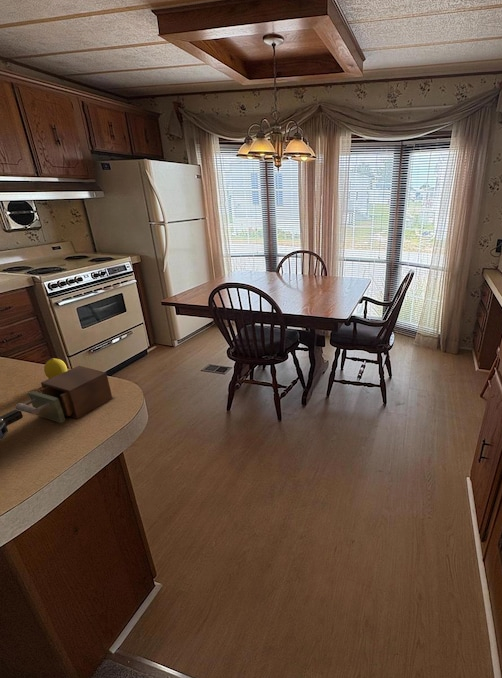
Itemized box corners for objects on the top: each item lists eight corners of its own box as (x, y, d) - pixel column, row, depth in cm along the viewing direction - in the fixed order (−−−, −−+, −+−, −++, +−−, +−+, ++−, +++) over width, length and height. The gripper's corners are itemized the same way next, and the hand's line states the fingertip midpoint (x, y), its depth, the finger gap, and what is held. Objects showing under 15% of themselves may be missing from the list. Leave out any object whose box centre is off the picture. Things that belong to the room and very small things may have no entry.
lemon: (68, 375, 111) (61, 352, 108) (71, 381, 107) (65, 358, 104) (46, 380, 107) (39, 357, 104) (49, 387, 104) (42, 364, 101)
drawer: (43, 433, 83) (35, 409, 81) (17, 424, 86) (9, 401, 83) (95, 403, 95) (89, 382, 93) (71, 396, 98) (65, 376, 95)
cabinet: (77, 418, 90) (69, 390, 87) (49, 409, 93) (40, 382, 90) (112, 398, 100) (106, 372, 96) (86, 390, 103) (79, 365, 99)
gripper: (-90, 466, 70) (6, 419, 85) (-51, 485, 66) (43, 432, 81) (-107, 437, 67) (-4, 394, 82) (-67, 455, 63) (34, 406, 79)
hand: (20, 413), depth 82 cm, fingers closed
